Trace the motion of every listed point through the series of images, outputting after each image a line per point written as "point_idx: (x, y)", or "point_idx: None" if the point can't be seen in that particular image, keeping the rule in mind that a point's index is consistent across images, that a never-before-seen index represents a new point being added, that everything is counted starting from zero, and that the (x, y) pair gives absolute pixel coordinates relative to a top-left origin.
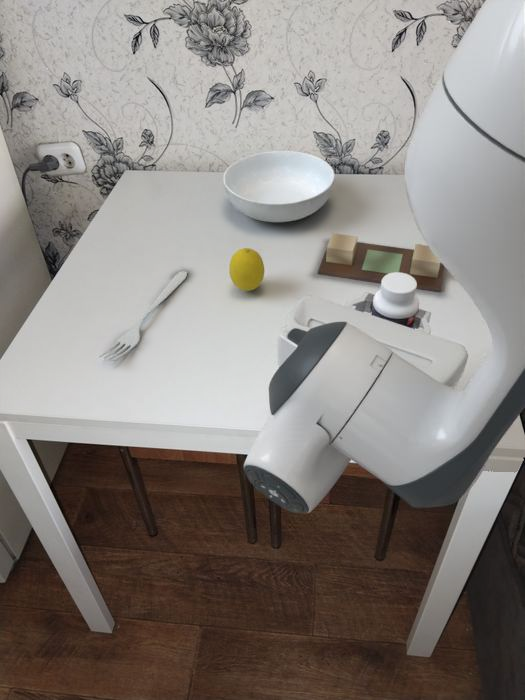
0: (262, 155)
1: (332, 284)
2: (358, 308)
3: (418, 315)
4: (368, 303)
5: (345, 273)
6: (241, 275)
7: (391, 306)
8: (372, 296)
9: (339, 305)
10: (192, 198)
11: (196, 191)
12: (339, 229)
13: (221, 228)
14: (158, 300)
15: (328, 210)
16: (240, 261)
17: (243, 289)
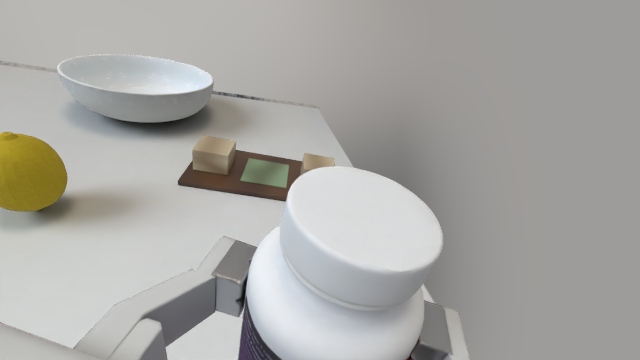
0: (133, 58)
1: (197, 199)
2: (186, 313)
3: (431, 337)
4: (229, 288)
5: (217, 184)
6: None
7: (337, 326)
8: (246, 255)
9: (26, 356)
10: (29, 91)
11: (41, 86)
12: (217, 137)
13: (50, 123)
14: None
15: (207, 120)
16: None
17: (10, 209)
